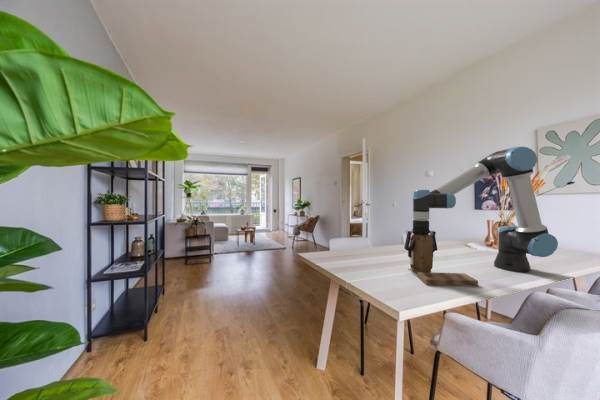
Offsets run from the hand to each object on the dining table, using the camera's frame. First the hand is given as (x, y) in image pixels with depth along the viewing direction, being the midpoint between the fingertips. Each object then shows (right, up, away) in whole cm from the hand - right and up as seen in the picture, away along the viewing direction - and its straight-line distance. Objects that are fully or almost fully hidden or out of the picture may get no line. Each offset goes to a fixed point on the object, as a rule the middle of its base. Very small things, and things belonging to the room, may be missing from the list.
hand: (420, 263), depth 125 cm
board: (+6, -5, -12) cm, 14 cm away
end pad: (0, -5, 0) cm, 5 cm away
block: (0, -4, 0) cm, 4 cm away
